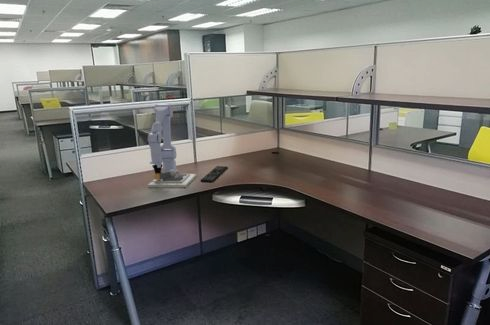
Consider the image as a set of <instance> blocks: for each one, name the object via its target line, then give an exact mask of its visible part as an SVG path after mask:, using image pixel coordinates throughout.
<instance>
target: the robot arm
mask: <svg viewBox="0 0 490 325" xmlns="http://www.w3.org/2000/svg"><path fill="white" fill-rule="evenodd" d="M173 108H174V107H173V105H172V104H171V103H155V104H154V113H155V122H153V124H152V125H151V130H150V132H149V133H148V135H147V142H148V147H149V149H150V157H151V158H150V159H151V161H149V164H150V165H152V169H153V170H154V174H155V173H161V172H167V171H169V170H175V172H176V173H178V172H179V170H178V169H177V162H176V158H177V148H176V147H175V146H174V145H173V144H172V134H171V131H172V130H171V119H172V118H173V117H174V112H173V110H174V109H173ZM161 142H162V145H161Z"/></svg>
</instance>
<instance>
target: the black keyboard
mask: <svg viewBox="0 0 490 325" xmlns="http://www.w3.org/2000/svg"><path fill="white" fill-rule="evenodd" d="M228 169H229V167H228V166H225V165H223V166H221V165H220V166H219V165H217V166H215V167H214V168H213V169H212V170H211V171H209V172H208V173H207V174H206V175H205V176H204V177H202V178H201V179H200V183H215V181H216V180H217V179H218V178H219V177H221V175H223V173H224V172H226V171H227V170H228Z"/></svg>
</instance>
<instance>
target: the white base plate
mask: <svg viewBox="0 0 490 325" xmlns="http://www.w3.org/2000/svg"><path fill="white" fill-rule="evenodd" d="M181 174H182V175H183V179H182V180H179V181H163V180H162V179H157V180H155V178H154V179H153V180H152V181H150V182H149V183H148V184H147V187H148V188H187V187H188V186H189V185H190V184H191V182H192V181H193V180H194V179H195V178H196V177H197V174H196V173H181Z"/></svg>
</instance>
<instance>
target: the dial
mask: <svg viewBox="0 0 490 325" xmlns="http://www.w3.org/2000/svg"><path fill="white" fill-rule="evenodd" d="M182 174H183V173H178V172H175V170H169V171H167V172H163V171H161V173H155V172H154V174H153V175H154V176H153V178H154V179H155V180H157V179H162V180H163V181H179V180H182V179H183V175H182Z"/></svg>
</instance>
